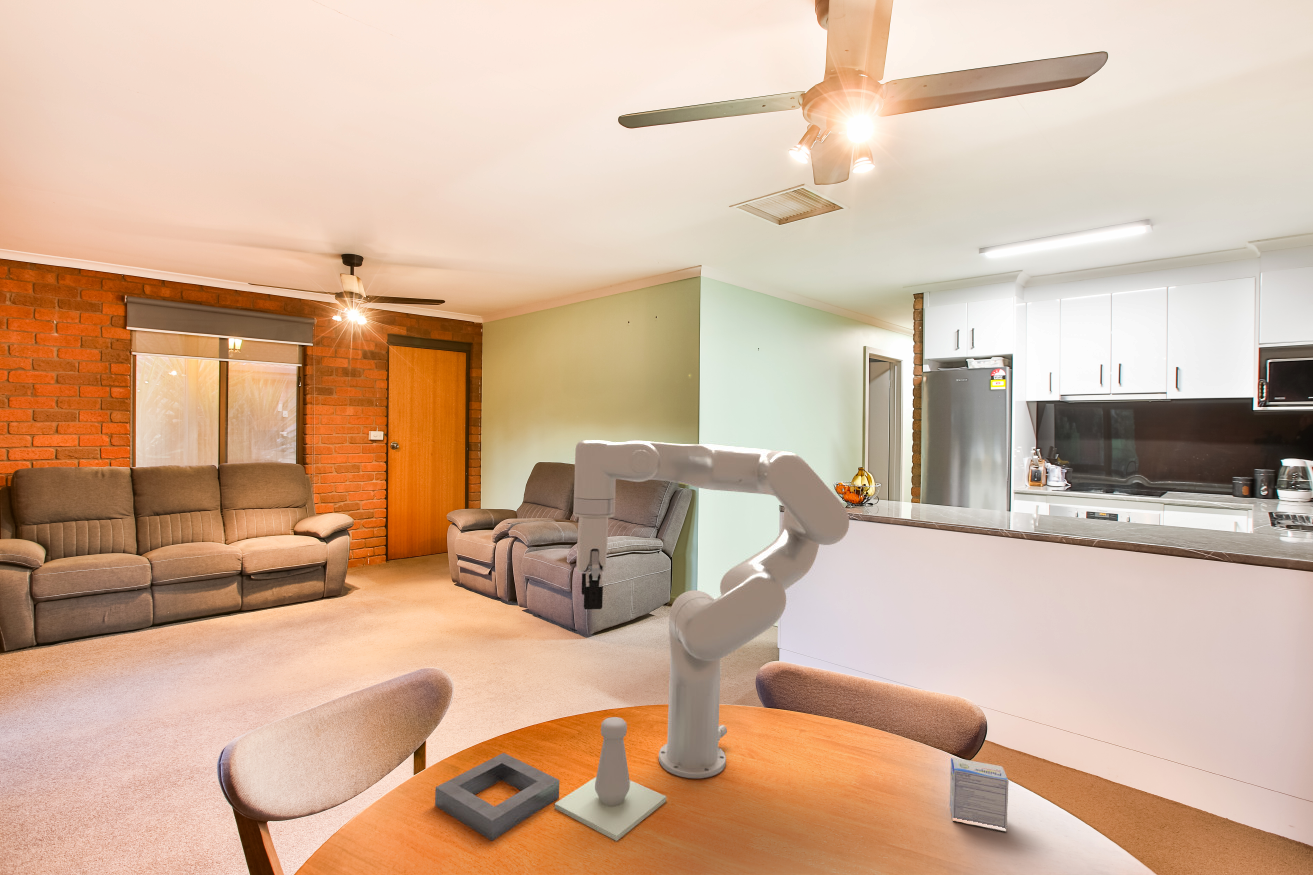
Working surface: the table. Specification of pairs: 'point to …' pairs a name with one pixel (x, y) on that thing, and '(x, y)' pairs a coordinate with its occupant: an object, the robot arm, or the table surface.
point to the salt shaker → (612, 764)
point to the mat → (610, 808)
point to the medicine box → (978, 792)
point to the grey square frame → (501, 818)
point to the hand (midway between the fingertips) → (591, 601)
